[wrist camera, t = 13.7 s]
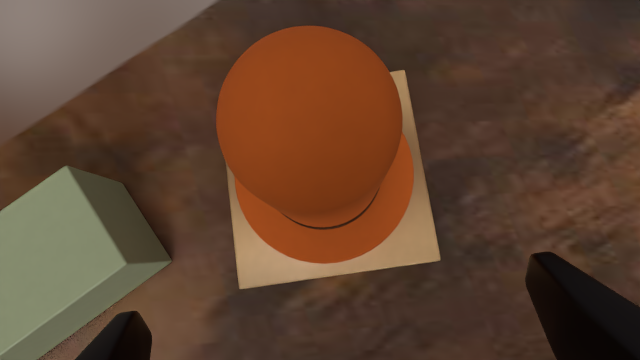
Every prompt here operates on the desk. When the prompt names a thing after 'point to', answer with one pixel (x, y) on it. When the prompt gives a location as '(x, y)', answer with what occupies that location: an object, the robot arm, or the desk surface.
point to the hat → (315, 144)
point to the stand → (396, 250)
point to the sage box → (69, 259)
